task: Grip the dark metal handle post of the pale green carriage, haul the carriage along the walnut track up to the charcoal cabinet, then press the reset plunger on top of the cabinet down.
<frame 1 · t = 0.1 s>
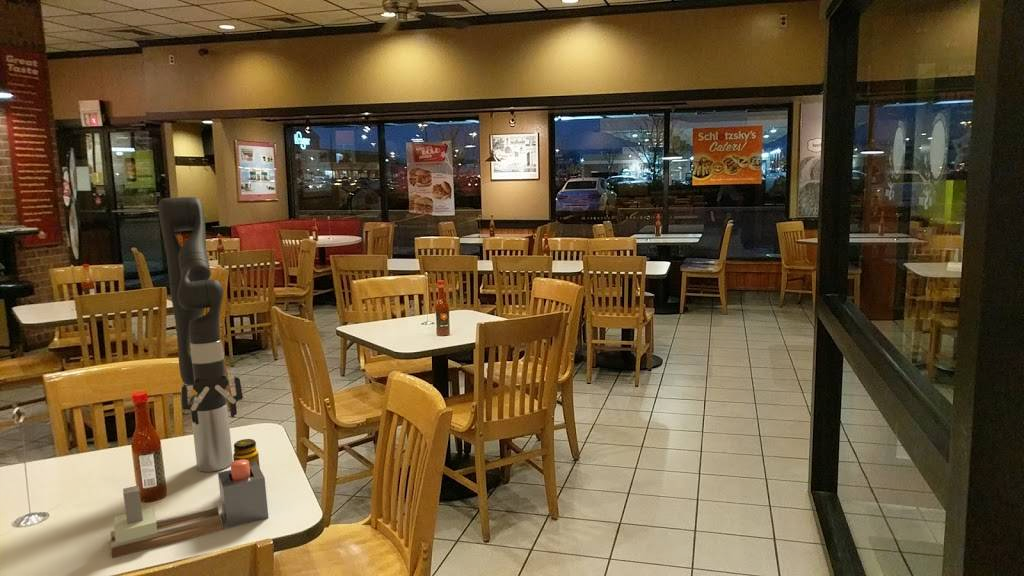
hand: (214, 420, 182), 17 cm above the table, fingers open, 8 cm apart
carriage: (133, 509, 156), point 8 cm above the table, slide at 0.0 cm
rail track: (167, 534, 160), on the table
condiment: (245, 487, 183), on the table
reset plunger: (240, 475, 166), point 10 cm above the table, slide at 0.0 cm
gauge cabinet: (245, 514, 168), on the table
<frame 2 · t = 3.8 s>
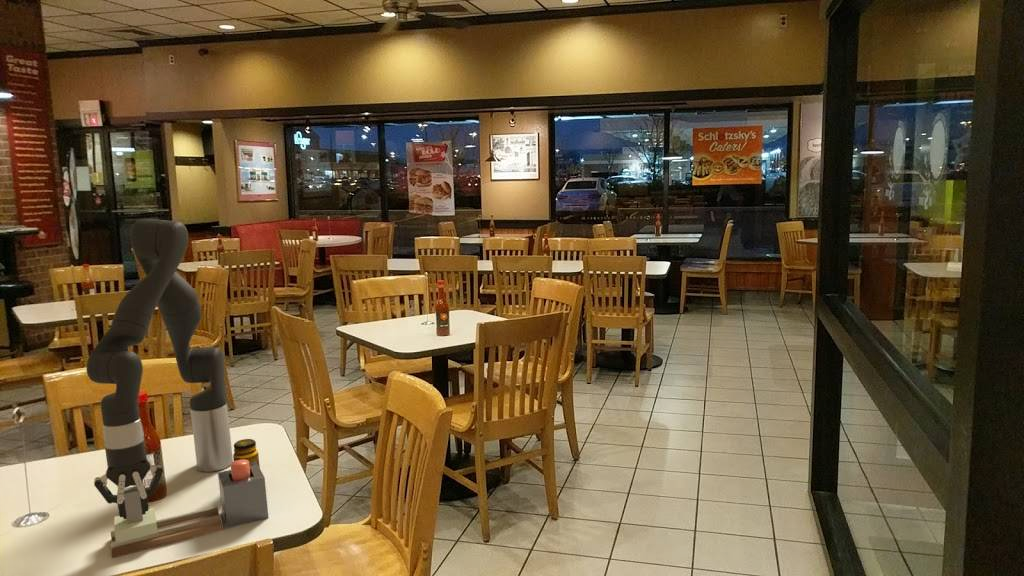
hand: (134, 515, 156), 6 cm above the table, fingers closed on carriage, 3 cm apart
carriage: (133, 509, 156), point 8 cm above the table, slide at 0.0 cm, touching gripper
everything else where it was.
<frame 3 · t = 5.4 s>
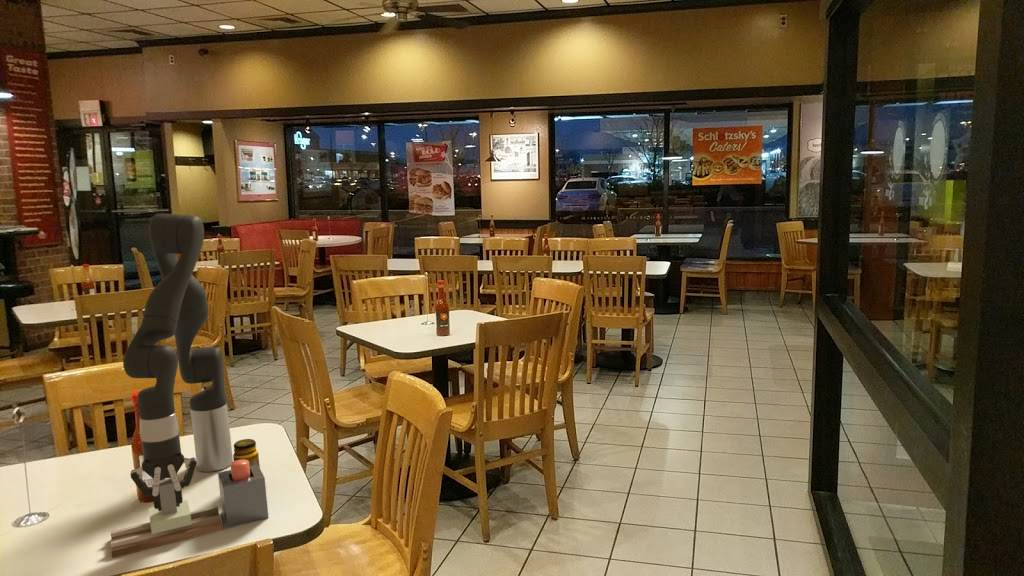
hand: (168, 507, 159), 6 cm above the table, fingers closed on carriage, 3 cm apart
carriage: (168, 501, 159), point 8 cm above the table, slide at 6.9 cm, touching gripper
everything else where it was.
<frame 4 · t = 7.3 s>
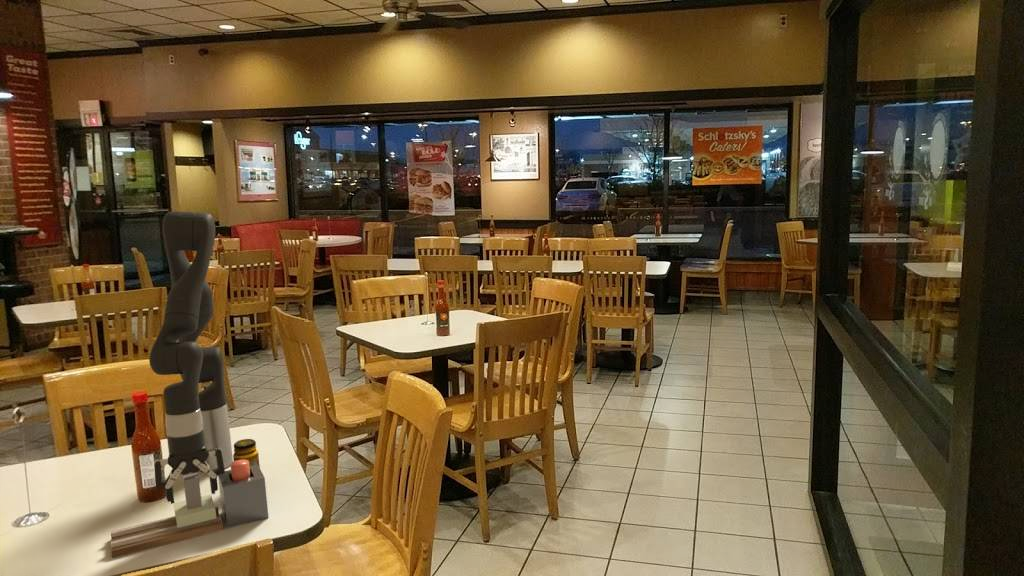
hand: (192, 497, 161), 7 cm above the table, fingers open, 8 cm apart
carriage: (193, 496, 161), point 8 cm above the table, slide at 12.0 cm
everything else where it was.
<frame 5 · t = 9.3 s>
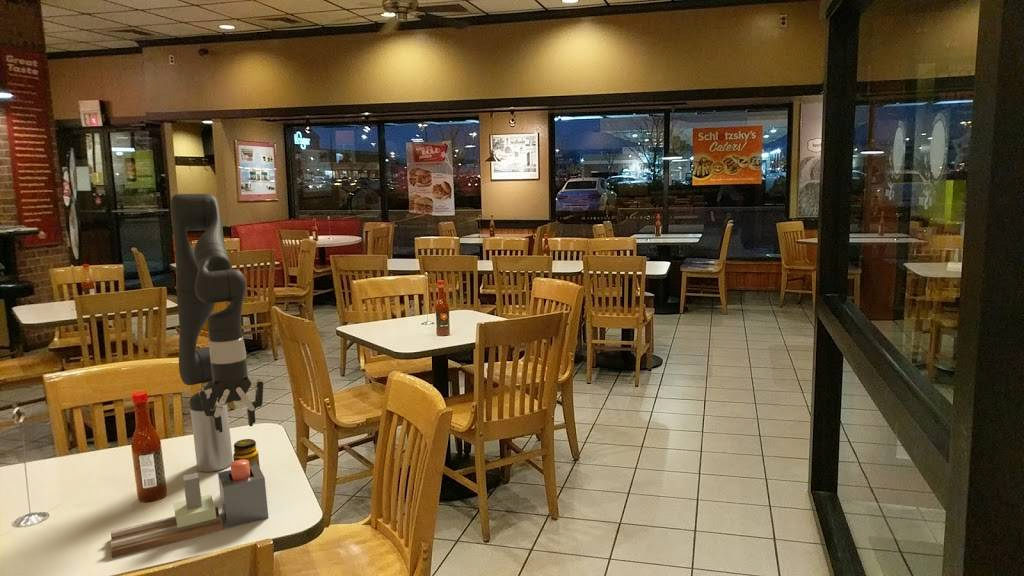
hand: (235, 428, 164), 22 cm above the table, fingers open, 6 cm apart
nothing on the table moved.
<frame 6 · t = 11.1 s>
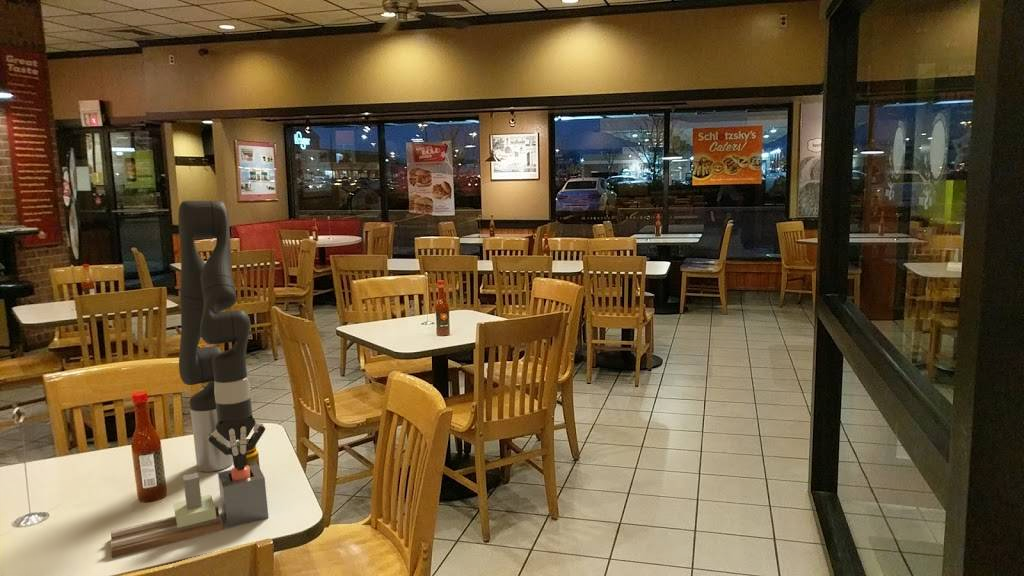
hand: (240, 468, 166), 12 cm above the table, fingers closed
reset plunger: (241, 480, 166), point 9 cm above the table, slide at 1.4 cm, touching gripper
everything else where it was.
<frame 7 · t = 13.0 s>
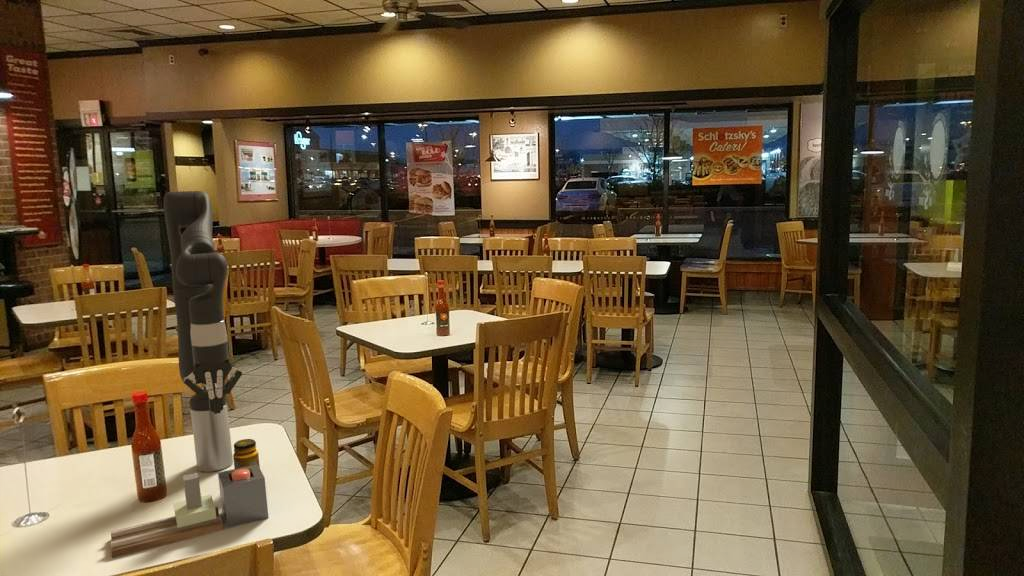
hand: (216, 412, 165), 25 cm above the table, fingers closed
reset plunger: (241, 484, 166), point 8 cm above the table, slide at 2.4 cm
everything else where it was.
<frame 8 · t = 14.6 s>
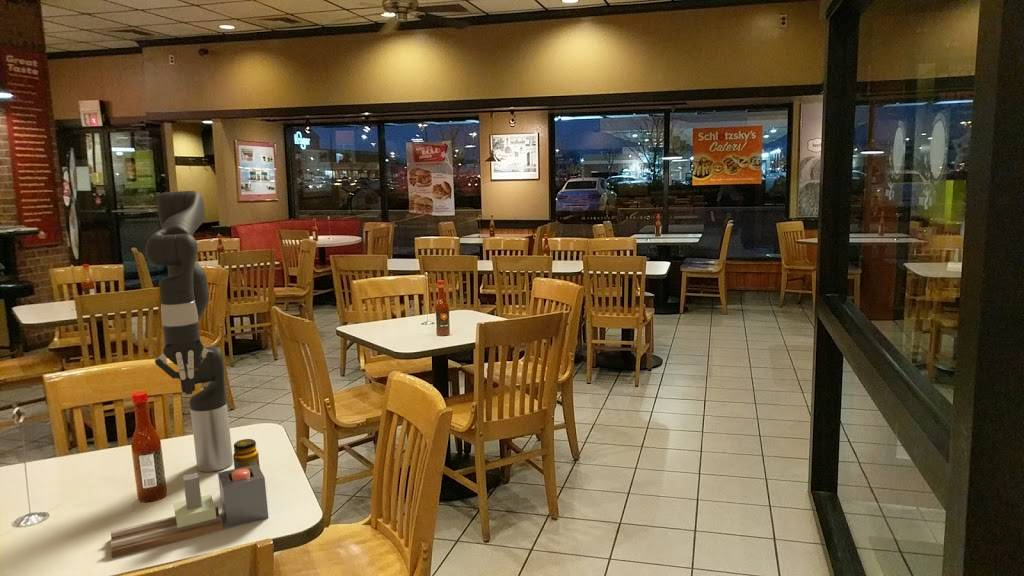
hand: (188, 393, 166), 29 cm above the table, fingers closed
nothing on the table moved.
at the end: carriage slide at 12.0 cm; reset plunger slide at 2.4 cm; the gripper is holding nothing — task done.
